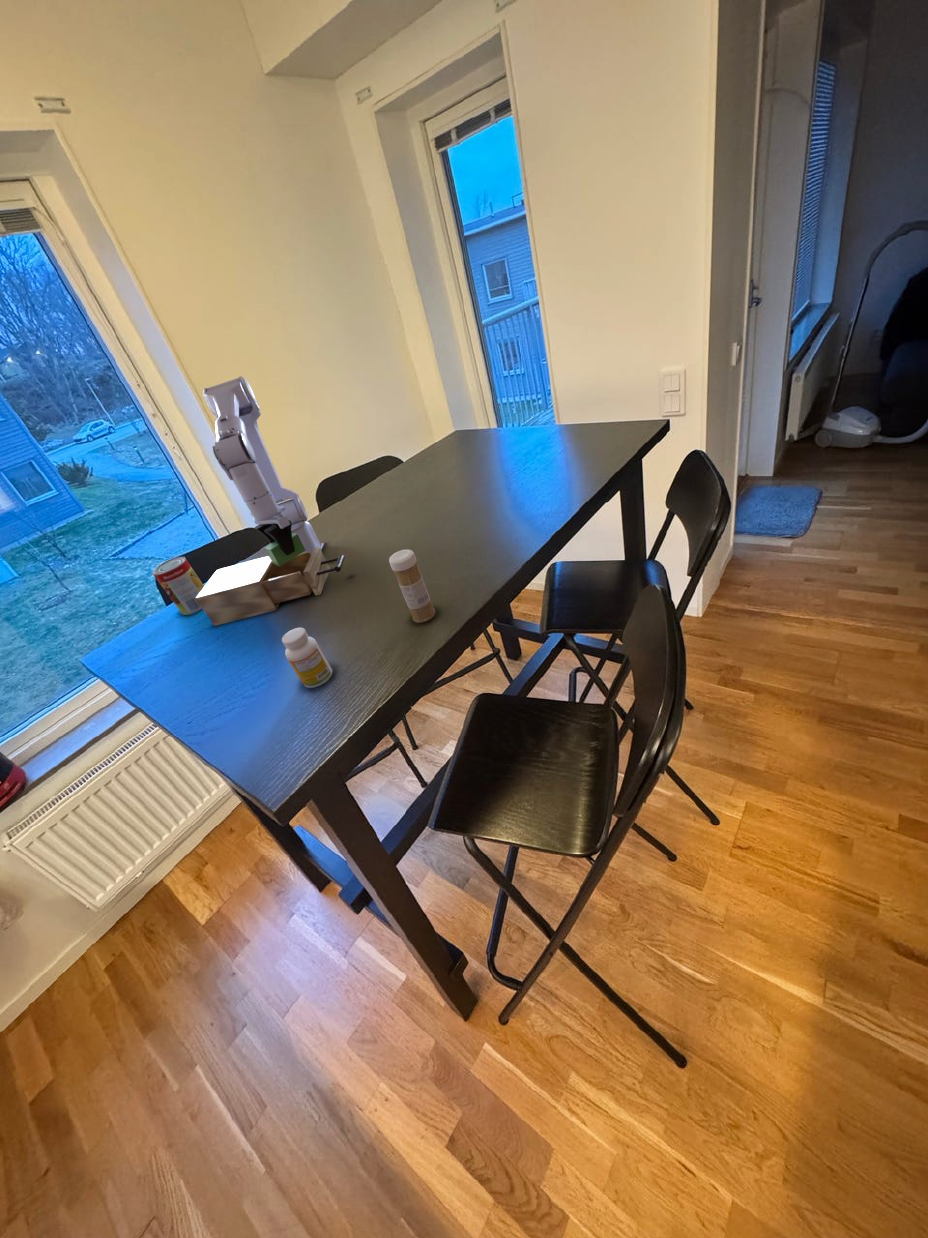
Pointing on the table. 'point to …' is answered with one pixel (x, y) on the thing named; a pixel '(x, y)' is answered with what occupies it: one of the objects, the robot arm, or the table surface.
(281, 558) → the green block
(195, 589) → the canned food
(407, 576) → the sprinkles bottle
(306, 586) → the drawer
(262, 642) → the table surface
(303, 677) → the supplement bottle
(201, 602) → the cabinet
